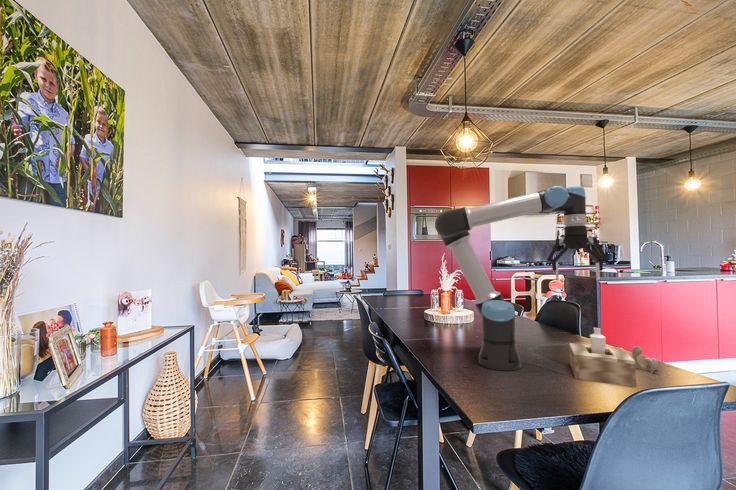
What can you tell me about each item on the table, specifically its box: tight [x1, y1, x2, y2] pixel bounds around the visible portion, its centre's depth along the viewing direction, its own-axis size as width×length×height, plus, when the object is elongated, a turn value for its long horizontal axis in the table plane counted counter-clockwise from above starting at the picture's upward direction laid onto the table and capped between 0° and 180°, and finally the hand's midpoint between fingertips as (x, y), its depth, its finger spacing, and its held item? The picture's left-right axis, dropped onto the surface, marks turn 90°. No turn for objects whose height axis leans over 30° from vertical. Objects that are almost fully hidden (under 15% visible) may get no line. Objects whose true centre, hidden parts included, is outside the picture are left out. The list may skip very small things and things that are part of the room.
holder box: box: [568, 342, 637, 388], centre depth 110 cm, size 16×16×8 cm
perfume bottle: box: [589, 327, 607, 355], centre depth 110 cm, size 5×4×15 cm
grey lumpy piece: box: [631, 345, 660, 374], centre depth 114 cm, size 9×6×10 cm
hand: (577, 279), depth 127 cm, fingers open, 13 cm apart
